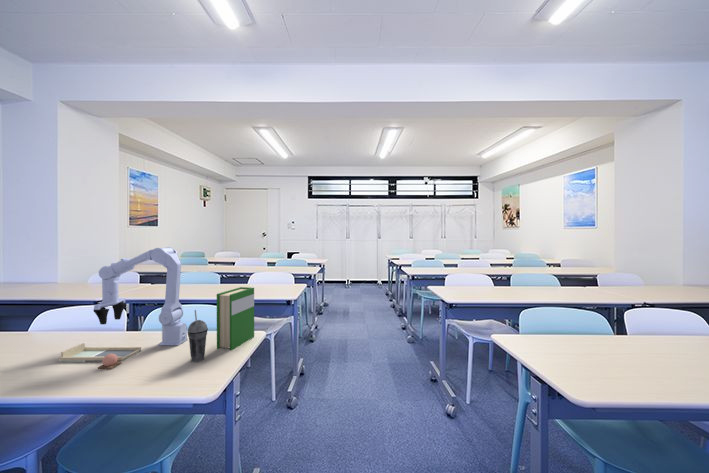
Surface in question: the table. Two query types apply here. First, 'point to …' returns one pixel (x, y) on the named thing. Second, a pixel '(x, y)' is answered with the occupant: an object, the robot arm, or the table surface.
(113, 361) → the ball
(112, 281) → the robot arm
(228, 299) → the hardback book
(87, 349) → the tray
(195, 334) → the beverage cup
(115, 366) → the open wooden square ring
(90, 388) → the table surface
